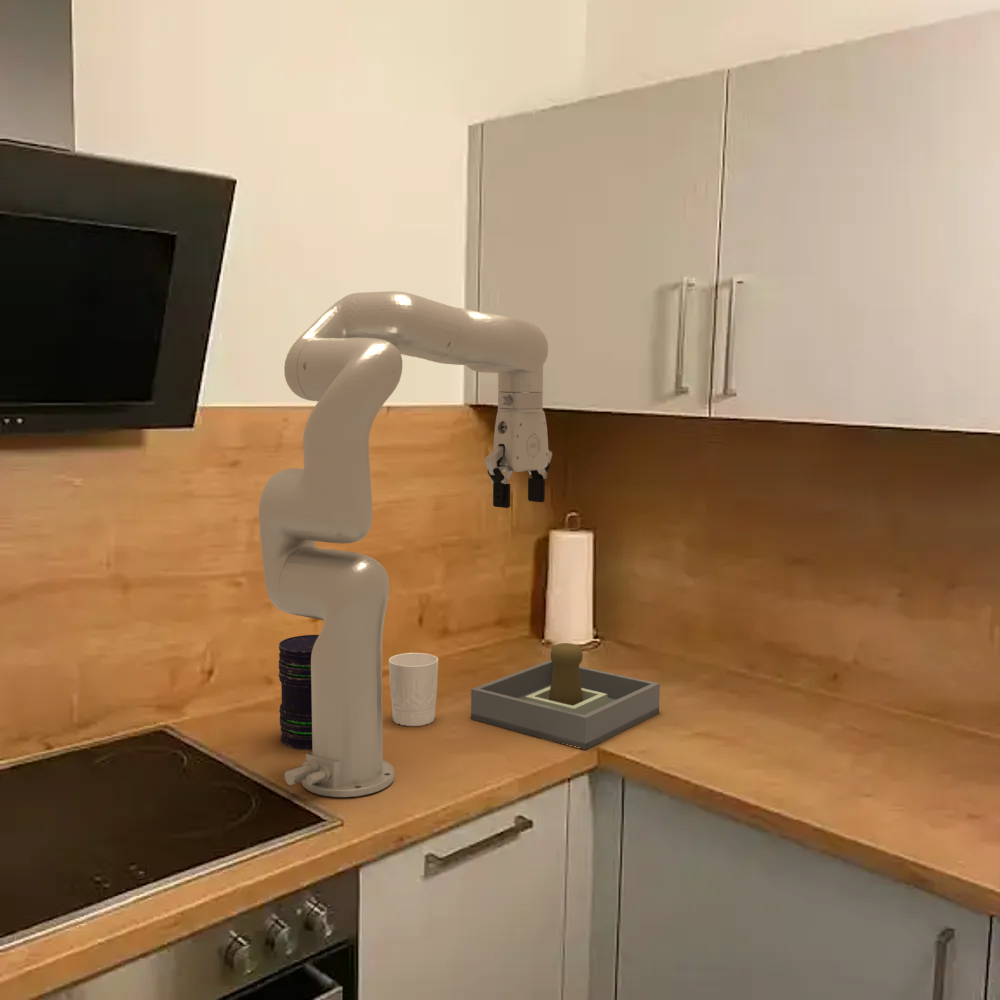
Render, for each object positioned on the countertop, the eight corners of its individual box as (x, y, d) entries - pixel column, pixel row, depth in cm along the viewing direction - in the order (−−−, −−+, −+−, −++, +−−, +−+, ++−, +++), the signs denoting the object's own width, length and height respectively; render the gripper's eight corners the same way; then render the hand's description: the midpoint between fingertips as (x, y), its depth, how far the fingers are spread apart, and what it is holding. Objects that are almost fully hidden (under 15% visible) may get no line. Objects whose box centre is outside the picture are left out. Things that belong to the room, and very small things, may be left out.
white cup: (444, 724, 166) (444, 663, 164) (396, 730, 163) (396, 668, 161) (429, 709, 173) (429, 650, 172) (383, 714, 170) (383, 655, 169)
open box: (585, 750, 155) (585, 717, 154) (471, 719, 168) (471, 689, 167) (659, 713, 172) (659, 683, 171) (550, 687, 185) (550, 659, 185)
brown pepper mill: (581, 717, 166) (583, 650, 165) (544, 715, 167) (545, 648, 166) (586, 705, 172) (587, 640, 171) (550, 703, 173) (551, 638, 172)
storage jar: (286, 753, 152) (284, 654, 151) (274, 732, 162) (272, 637, 160) (353, 745, 156) (351, 647, 154) (337, 724, 165) (336, 632, 163)
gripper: (506, 404, 166) (505, 511, 168) (568, 402, 179) (566, 501, 181) (470, 403, 170) (469, 507, 172) (532, 401, 184) (531, 497, 186)
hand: (519, 504), depth 177 cm, fingers open, 9 cm apart
